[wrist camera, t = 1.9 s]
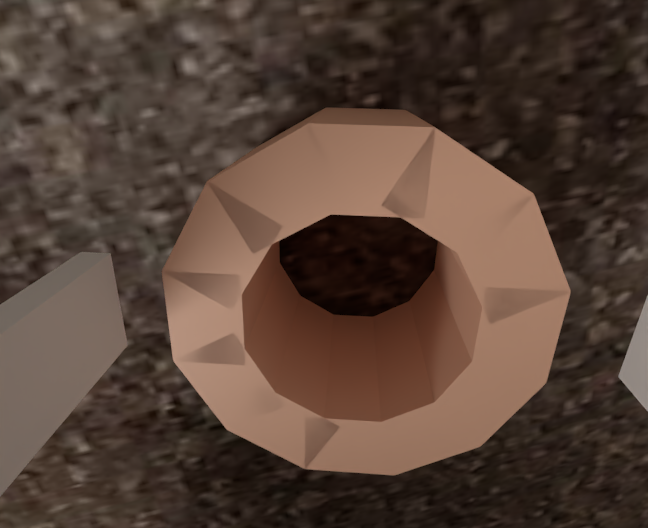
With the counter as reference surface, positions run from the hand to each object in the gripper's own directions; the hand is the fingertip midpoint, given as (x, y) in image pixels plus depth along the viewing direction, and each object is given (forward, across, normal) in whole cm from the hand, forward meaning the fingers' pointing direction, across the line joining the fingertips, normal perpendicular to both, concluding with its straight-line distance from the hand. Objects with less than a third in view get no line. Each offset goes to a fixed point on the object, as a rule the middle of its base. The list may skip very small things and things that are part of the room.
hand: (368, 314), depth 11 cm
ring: (+6, 0, 0) cm, 6 cm away
